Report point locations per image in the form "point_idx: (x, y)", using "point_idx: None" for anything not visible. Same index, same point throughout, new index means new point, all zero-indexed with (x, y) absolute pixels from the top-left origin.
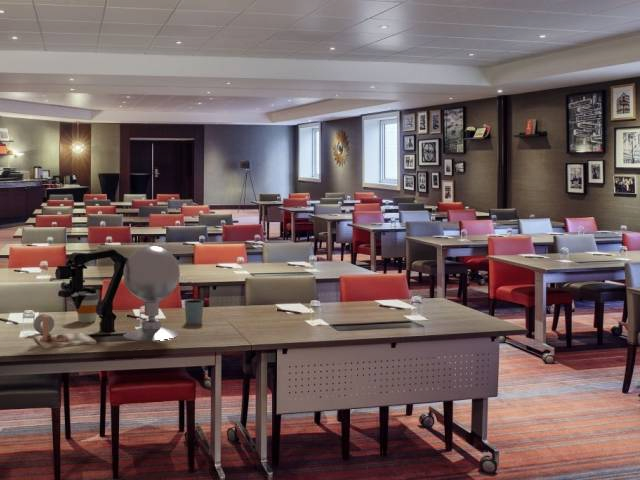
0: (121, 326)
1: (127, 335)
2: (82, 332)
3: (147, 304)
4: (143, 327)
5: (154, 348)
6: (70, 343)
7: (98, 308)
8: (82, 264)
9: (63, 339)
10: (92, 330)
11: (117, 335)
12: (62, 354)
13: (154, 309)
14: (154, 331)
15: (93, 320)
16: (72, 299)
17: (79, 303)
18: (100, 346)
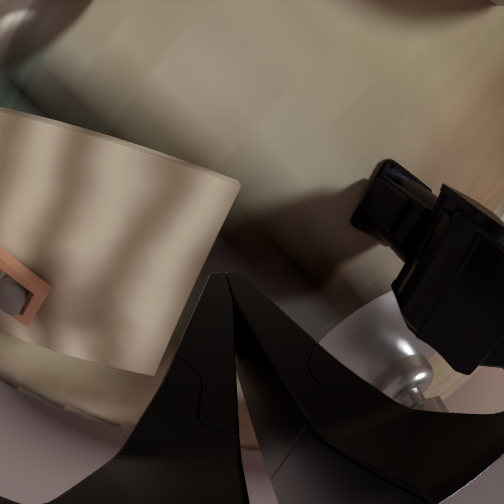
0: (482, 175)
1: (329, 349)
2: (230, 185)
3: None
4: (375, 382)
5: (245, 443)
6: (45, 347)
7: (445, 293)
8: None
9: (21, 320)
10: (368, 120)
11: (331, 308)
12: (10, 386)
13: None
14: None
15: (496, 2)
16: (131, 441)
17: (247, 401)
18: (143, 395)
